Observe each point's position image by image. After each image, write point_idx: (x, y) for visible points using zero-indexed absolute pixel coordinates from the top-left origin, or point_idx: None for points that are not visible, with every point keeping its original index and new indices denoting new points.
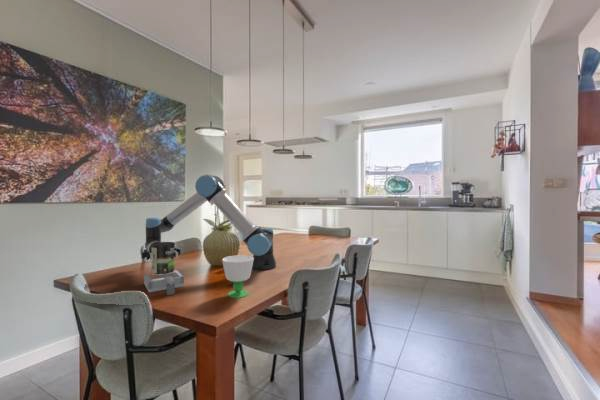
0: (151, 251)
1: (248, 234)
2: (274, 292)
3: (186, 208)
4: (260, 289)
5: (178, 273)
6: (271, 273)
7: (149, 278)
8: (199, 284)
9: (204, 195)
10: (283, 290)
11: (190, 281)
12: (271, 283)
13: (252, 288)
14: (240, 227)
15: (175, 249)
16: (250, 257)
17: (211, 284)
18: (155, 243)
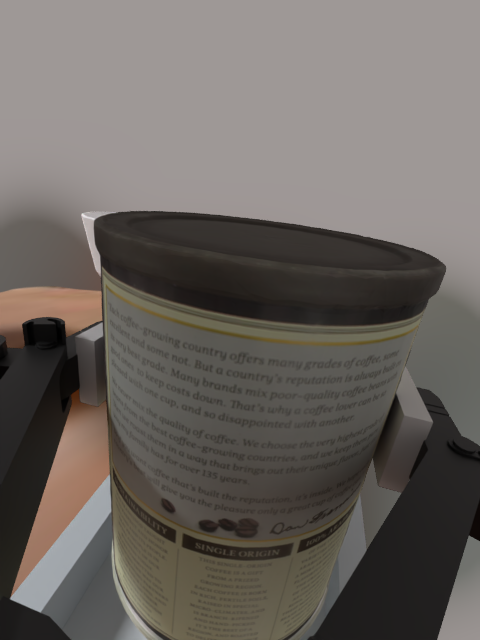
0: (403, 529)
1: None
2: (86, 292)
3: None
4: (74, 307)
5: (100, 505)
6: None
7: (345, 568)
8: (90, 429)
9: None
10: (65, 288)
11: (47, 509)
12: (6, 305)
13: (72, 316)
14: None
15: (62, 328)
16: (92, 215)
17: (71, 396)
18: (368, 268)
